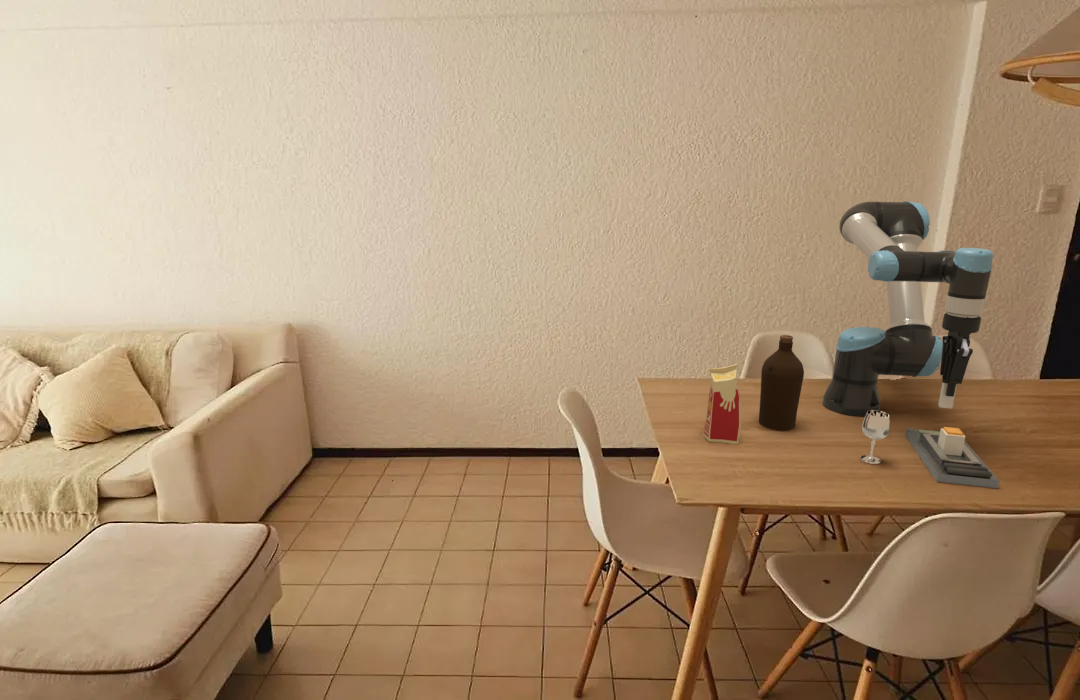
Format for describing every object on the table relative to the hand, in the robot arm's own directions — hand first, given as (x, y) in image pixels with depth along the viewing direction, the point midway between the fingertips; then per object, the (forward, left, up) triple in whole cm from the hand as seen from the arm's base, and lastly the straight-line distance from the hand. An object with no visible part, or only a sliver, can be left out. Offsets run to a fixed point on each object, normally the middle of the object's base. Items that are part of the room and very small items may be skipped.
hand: (945, 406), depth 156 cm
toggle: (0, -8, -9) cm, 12 cm away
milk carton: (-53, -8, -11) cm, 55 cm away
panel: (0, -8, -11) cm, 13 cm away
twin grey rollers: (0, -19, -9) cm, 21 cm away
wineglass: (-18, -13, -11) cm, 25 cm away
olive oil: (-38, +4, -11) cm, 40 cm away
